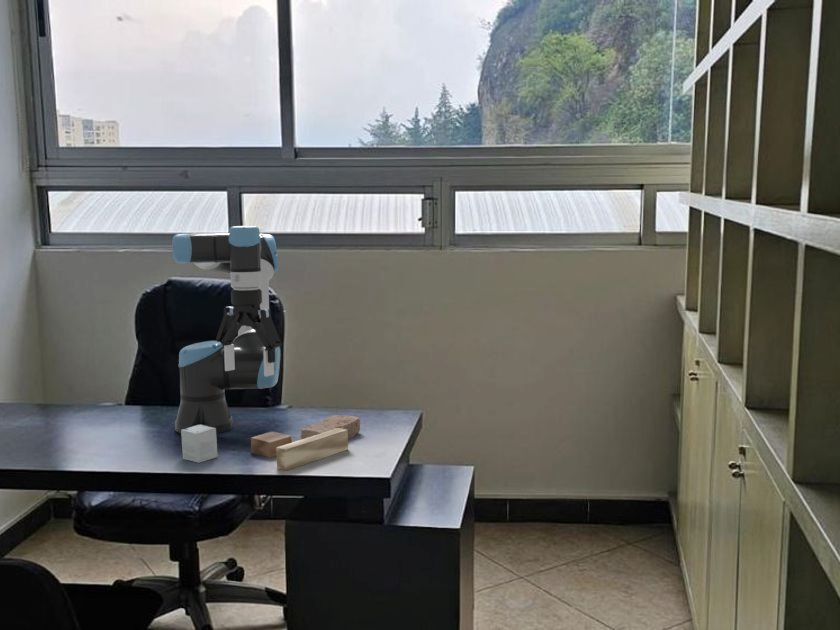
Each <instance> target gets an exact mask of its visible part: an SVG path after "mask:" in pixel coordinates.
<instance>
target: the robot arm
mask: <svg viewBox="0 0 840 630" xmlns="http://www.w3.org/2000/svg"><path fill="white" fill-rule="evenodd" d="M228 232H229V233H228ZM228 232H227V233H225V232H221V233H188V232H187V233H178V234H174V235H173V237H172V241H171V242H172V245H171V247H172V257H173V260H174V262H175V263H176V264H185V265H186V264H194V265H195V266H196V267H197V268H199V269H200V270H201V269H202V270H205V271H208V272H214V273H218V274H219V273H221V274H230V287H231V288H232V289H231V290H230V300H231V302H230V303H231V304H232V305H231V306H224V308H223V316H222V320H221V322H220V325H219V329H218V332H217V334H216V335H217V336H216V337H215V340H207V341H201V342H196V343H192V344H189V345H186V346H184V347H183V348H181V349H180V351H179V352H178V353H179V354H178V368H179V370H178V371H179V390H180V391H179V392H180V395H179V396H180V403H179V407H178V411H177V416H176V418H175V420H174V426H175V427H174V428H175V429H174V430H175V431H176V433H178V434H181V430H182V429H186V428H189V427H193V426H196V425H204V426H208V427H213V428H216V434H220V433H222V432H223V433H224V432H226V431H229V430H230V429H232V428H233V426H234V425H233V417H232V415H231V414H232V413H231V411H230V408H229V406H228V403H227V400H226V394H225V392H226V391H225V390H246V389H247V390H248V389H249V390H250V389H259V390H262V389H266V388H273V387H275V386H276V385H277V383H278V380H279V376H280V365H281V347H282V345H283V344H282V341H281V339H280V336H279V333H278V331H277V328H276V325H275V323H274V320H273V319H272V311H271V310H272V309H270V287H269V286H270V285H269V284H270V280H272V279H273V277H274V274H275V273H277V272H279V258H278V257H279V256H278V250H277V249H278V248H277V245H276V244H277V243H276V240H275V237H274V236H273V235H272V234H270V233H268V234H267V233H260V228H259V227H258V226H256V225H236V226H234V225H233V226H230V227H229V228H228Z"/></svg>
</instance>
